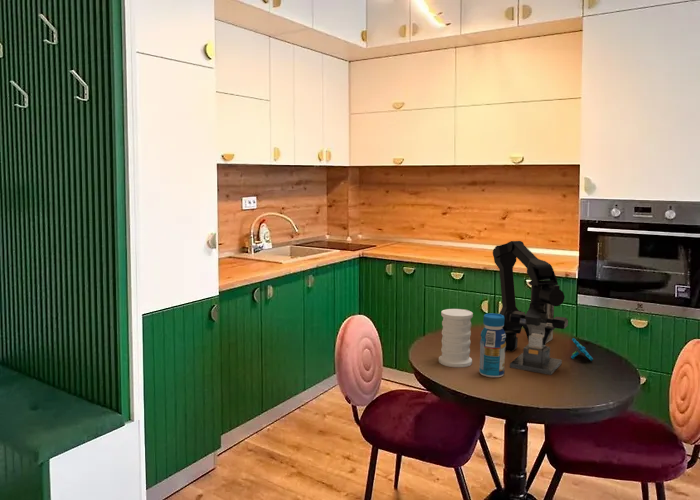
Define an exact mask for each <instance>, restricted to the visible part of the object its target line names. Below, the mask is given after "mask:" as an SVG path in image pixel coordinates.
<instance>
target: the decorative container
mask: <svg viewBox="0 0 700 500" xmlns="http://www.w3.org/2000/svg"><path fill="white" fill-rule="evenodd" d="M440 314H441V317H442V321H441V325H442V328H441V329H442V330H441V335H442V338H441V349H440V351H441V355H439V356H438V363H439V364H441V365H442V366H445V367H450V368H468V367H470V366H471V365H472V364H473V359H472V357H470V354H471V348H470V347H471V343H472V342H471V335H472V331H471V328H472V321H471V320H472V318H473V316H474V315H473V314H474V313H473V312H472V311H470V310H468V309H463V308H446V309H443V310H441V313H440Z"/></svg>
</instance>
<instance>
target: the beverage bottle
mask: <svg viewBox="0 0 700 500" xmlns="http://www.w3.org/2000/svg"><path fill="white" fill-rule="evenodd" d="M504 320H505V318H504V316H503V315H501V314H499V313H492V312H491V313H485V314H484V315H483V321H482V322H483V326H484V327H483V328H482V330H481V332H480V338H481V339H480V340H479V346H480V347H479V368H478V369H479V370H478V371H479V373H480V375H482V376H484V377H487V378H500V377H503V376H504V375H505V362H506V361H505V360H506V351H505V347H506V342H505V338H506V334H505V331H504V329H503V328H502V327H503V326H504Z"/></svg>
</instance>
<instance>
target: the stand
mask: <svg viewBox="0 0 700 500" xmlns="http://www.w3.org/2000/svg"><path fill="white" fill-rule="evenodd" d="M528 345H529V343H528V344H527V345H525V346H524V347H523V350H522V351H523V352H521V354H519V355H518V356H517V357H516V358H515V359H513V360H512V361H511V362H510V363H509V368H511V369H517V370H521V371H527V372H532V373H539V374H542V375H543V374H544V375H549V376H552V375H553V374H554V373H555V372H556V371H557V369H558V368H560V366H561V365H562V359H560V358H559V359H558V358H555V357H554V358H553V357H550V355H551V353H550V352H551V346H547V345H545V349H544V350H543V351H541V350H535V349H529V348H528Z"/></svg>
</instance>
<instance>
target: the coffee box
mask: <svg viewBox="0 0 700 500" xmlns="http://www.w3.org/2000/svg"><path fill="white" fill-rule="evenodd" d="M547 314H548V318H551V319H554V318H555V306H553V305H550V304H548V312H547ZM546 326H547V323H541V324H540V325H539V326H535V325H532V333H536V334H542V335H544V334H545V327H546ZM553 335H554V330H552V331H551V333H550V335H549V337H548V340H547V342H546V344H548V343H549V342H550V341H552V340H553Z"/></svg>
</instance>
